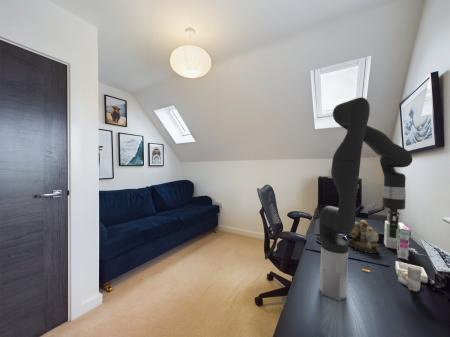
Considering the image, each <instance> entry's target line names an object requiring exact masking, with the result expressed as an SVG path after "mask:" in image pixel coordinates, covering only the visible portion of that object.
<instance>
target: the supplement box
mask: <svg viewBox="0 0 450 337" xmlns="http://www.w3.org/2000/svg"><path fill="white" fill-rule="evenodd" d="M387 222H388V220H384V237H383V244H384V245H385V248H387V249H388V248H389V249H394V250H397V242H396V241H391V240H386V223H387ZM399 225H404V226H406V225H405V224H404V223H403V222H399Z"/></svg>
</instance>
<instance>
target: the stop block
mask: <svg viewBox="0 0 450 337" xmlns="http://www.w3.org/2000/svg"><path fill="white" fill-rule="evenodd" d="M391 225H392V226H395V224H391ZM389 230H390V229H389V223H388V222H387V223H386V240H391V241H396V242H399V224H398V229H397V230H396V238H391V237H389Z"/></svg>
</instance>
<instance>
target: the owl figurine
mask: <svg viewBox="0 0 450 337" xmlns="http://www.w3.org/2000/svg"><path fill="white" fill-rule="evenodd" d="M347 236H348V237H349V238H352V239H350V240H348V241H346V242H347V244H348V245H349V246H348V247H350V246H351V248H353V247H354V248H356V249H359V250H362V251H367V252H372V253H373V254H374V253H379V252H381V251H380V250H379V249H378V247H379V244H378V242H379V238H380V237H379V234H378V232H376V230H375V229H374V228H373V227H371V226H370V225H369V223H368V222H367V221H366V220H364V219H362V220H361V219H360V220H359V222H357V221H355V226H354V229H353V231H352V232H351V233H350V234H349V235H347ZM354 248H353V249H354ZM356 249H355V250H356ZM359 250H358V251H359ZM362 251H361V252H362ZM379 254H380V253H379Z"/></svg>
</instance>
